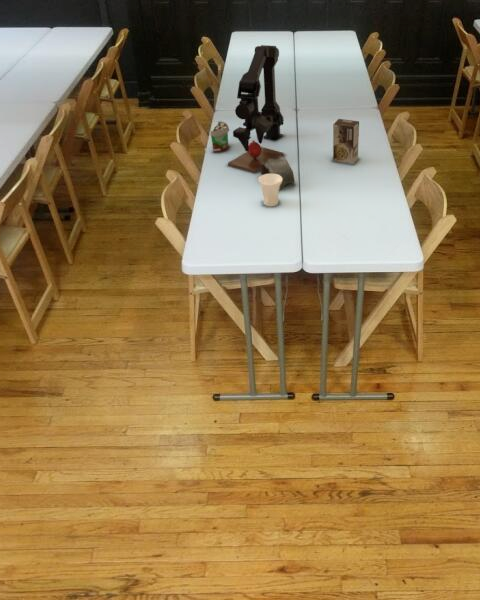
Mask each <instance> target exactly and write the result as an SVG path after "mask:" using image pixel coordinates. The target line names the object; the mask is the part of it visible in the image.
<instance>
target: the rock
mask: <svg viewBox="0 0 480 600" xmlns="http://www.w3.org/2000/svg"><path fill="white" fill-rule="evenodd" d="M260 174H261V175H264V174H278V175H280V176H281V177H282V183H281V184H280V188H279V190H281V189H282V188H283V187H286V185H287V184H295V175H294V171H293V169H292V167H291V165H290V163H289V162H288V160H287V158H286V157H285V156H284V155H283V156H277V157H276V158H273V159H267V160H266V163H264V164H262V165H261V170H260Z"/></svg>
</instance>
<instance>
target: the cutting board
mask: <svg viewBox="0 0 480 600" xmlns="http://www.w3.org/2000/svg"><path fill="white" fill-rule="evenodd" d="M277 156H283V157H284V152H283V151H279V150H274V149H271V148H266V147H263V146H261V154H260V155H259V156H258V157H257V158H256V159H254V158H253V157H251V156H250V155H249V154H248V152H247V151H245V152H244V153H242V154H241V155H239V156H238V157H236V158H234V159H232V160H230V161H229V162H228V163H227V165H228V167H232V168H236V169H239V170H241V171H242V170H243V171H246V172H249V173H253V174H257V173H258V172H261V165H262V164H264V163H266V160H267V159H273V158H276V157H277Z"/></svg>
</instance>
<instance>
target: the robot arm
mask: <svg viewBox="0 0 480 600" xmlns="http://www.w3.org/2000/svg"><path fill="white" fill-rule="evenodd" d="M279 57H280V49H279V48H278V47H277V46H276V45H269V44H268V45H266V44H261V45H257V46H255V47H254V54H253V57H252V59H251V61H250V65H249V68H248V70H247V72H245V73H243V74H242V76H241V78H240V80H239V81H238V88H237V95H236V96H237V97H236V99H238V100H239V99H240V100H239V102H238V103H239V104H237V106H235V110H234V112H235V115H236V117H237V118H238V119H240V120H244V122H243V123H242V127H241V126H239V127H237V128H235V129H234V130H233V131H232V136H233V138H235V139H237V140H238V141H239V142H240V144H241V145H242V147H243V149H244V150H245V152H248V150H249V144H250V143H249V141H250V139H251V138H252V136H251V134H252V133H251V132H252V131H254V130H255V133H256V137H257V138H256V139H257V141H258V144H259V145H260V144H262V143H263V140H264V139H268V140H271V141H277V140H278V139H280V138H282V137H283V136H284V134H282V133H281V126H283V125H284V121H285V120H284V116H283V114H282V112H281V108H280V107H281V106H280V105H279V104H278V102H277V98H276V97H277V95H276V94H277V93H276V73H275V72H276V71H275V67H276V65H277V63H278V61H279ZM262 71H263V87H264V88H263V89H264V104H263V106H262V108H261V110H260V111H259V97H260V92H261V88H262V85H261V81H260V76H261V73H262ZM243 126H244V127H243Z"/></svg>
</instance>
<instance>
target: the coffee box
mask: <svg viewBox="0 0 480 600" xmlns="http://www.w3.org/2000/svg"><path fill="white" fill-rule="evenodd" d="M359 131H360V121H359V120H352V119H343V118H338V119H337V120H336V121H335V122H334V123H333V124H332V153H333V154H332V162H335V163H342V164H349V165H354V164H355V163H356V162H357V161H358V160H359V139H360V138H359V136H360V134H359Z"/></svg>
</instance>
